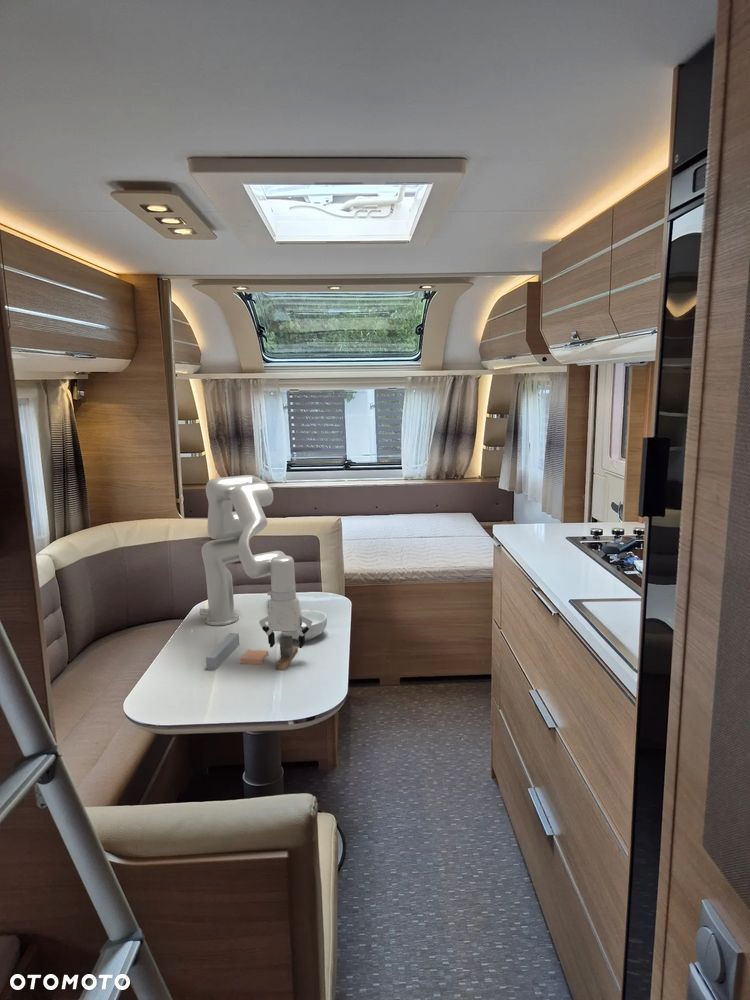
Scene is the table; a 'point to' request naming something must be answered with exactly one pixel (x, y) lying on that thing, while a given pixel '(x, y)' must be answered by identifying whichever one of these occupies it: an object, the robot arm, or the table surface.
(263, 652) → the tile
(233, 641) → the stop rail
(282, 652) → the scraper
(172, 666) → the table surface
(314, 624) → the cereal bowl
